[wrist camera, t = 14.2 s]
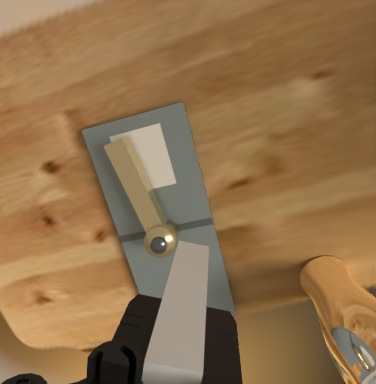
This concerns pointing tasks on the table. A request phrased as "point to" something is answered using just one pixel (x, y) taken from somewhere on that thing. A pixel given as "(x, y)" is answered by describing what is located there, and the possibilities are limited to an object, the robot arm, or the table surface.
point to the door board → (161, 196)
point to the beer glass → (343, 317)
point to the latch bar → (143, 198)
